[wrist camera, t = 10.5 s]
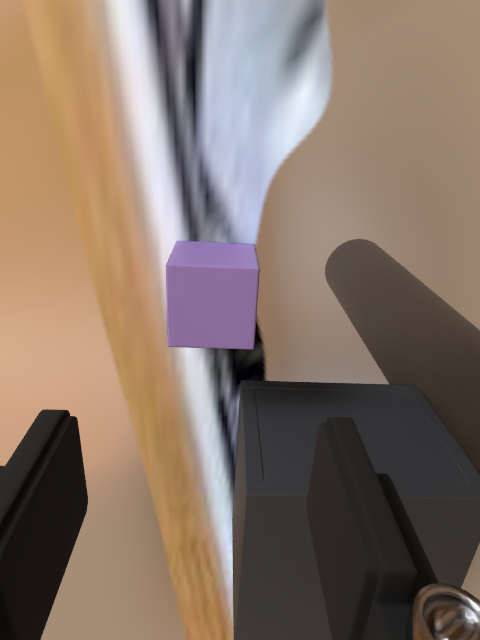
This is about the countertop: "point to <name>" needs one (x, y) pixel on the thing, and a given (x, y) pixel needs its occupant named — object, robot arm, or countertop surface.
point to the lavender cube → (212, 295)
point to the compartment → (293, 485)
